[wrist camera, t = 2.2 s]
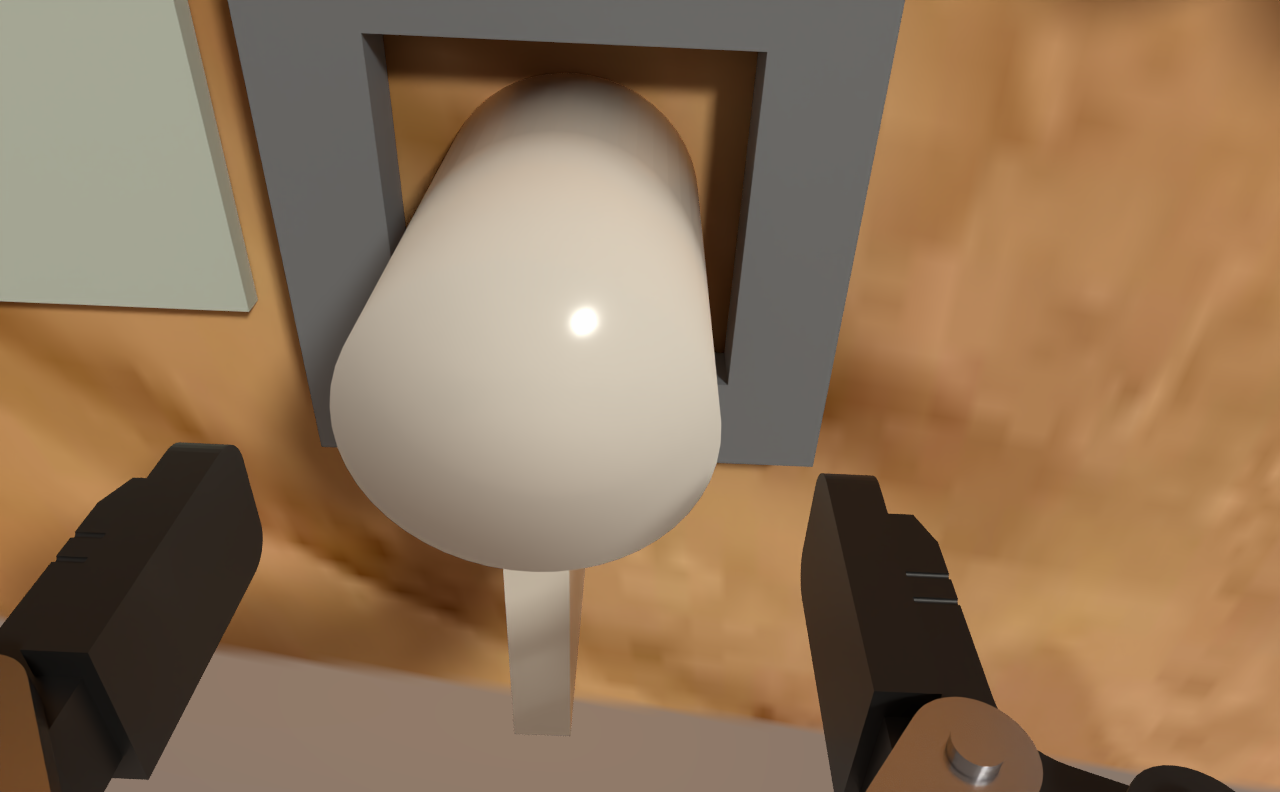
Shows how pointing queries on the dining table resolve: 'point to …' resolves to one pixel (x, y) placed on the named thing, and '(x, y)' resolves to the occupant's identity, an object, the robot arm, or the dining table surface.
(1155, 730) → the dining table surface
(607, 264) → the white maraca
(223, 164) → the trivet
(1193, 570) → the dining table surface
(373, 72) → the socket
